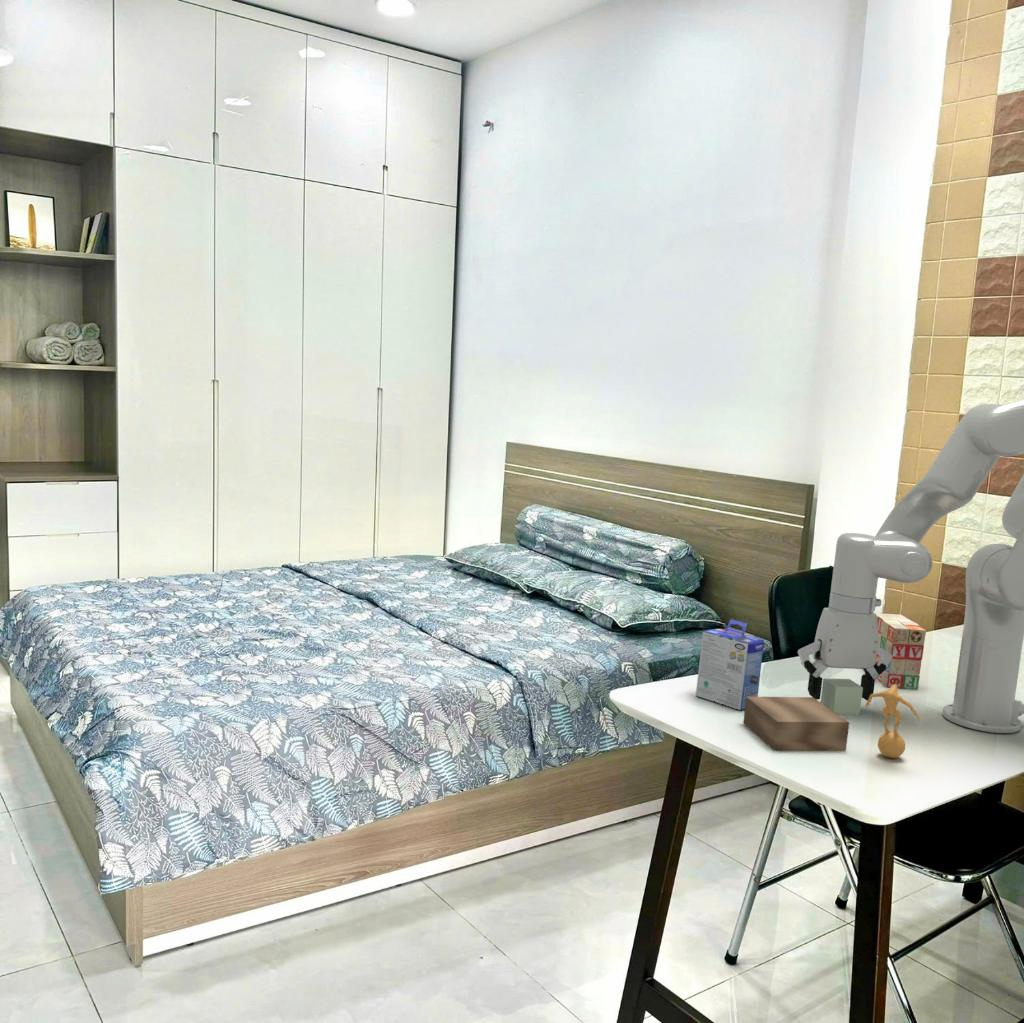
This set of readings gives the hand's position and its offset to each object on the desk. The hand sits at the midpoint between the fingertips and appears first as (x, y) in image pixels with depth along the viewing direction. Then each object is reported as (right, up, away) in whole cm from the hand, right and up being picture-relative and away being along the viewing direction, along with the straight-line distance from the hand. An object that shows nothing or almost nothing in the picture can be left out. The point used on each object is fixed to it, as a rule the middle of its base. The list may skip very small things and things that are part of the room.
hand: (839, 697), depth 173 cm
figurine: (0, -5, -23) cm, 23 cm away
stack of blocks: (+18, 0, +26) cm, 32 cm away
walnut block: (-13, -4, -16) cm, 21 cm away
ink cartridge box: (-20, -1, 0) cm, 20 cm away
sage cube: (0, -2, 0) cm, 2 cm away
